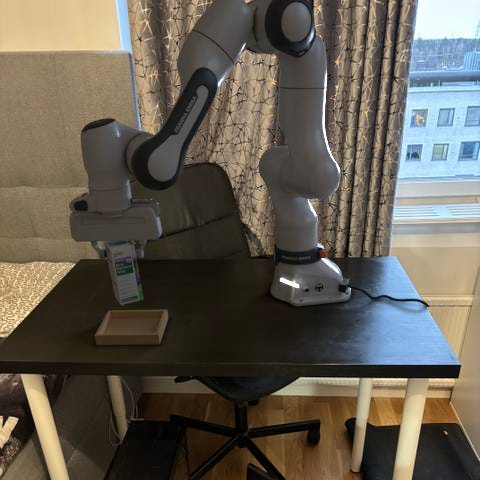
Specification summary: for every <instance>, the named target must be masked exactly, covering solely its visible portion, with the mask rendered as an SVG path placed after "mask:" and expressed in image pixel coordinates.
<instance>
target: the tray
mask: <svg viewBox="0 0 480 480" xmlns="http://www.w3.org/2000/svg"><path fill="white" fill-rule="evenodd" d="M168 312H169V311H168V309H127V310H126V309H122V310H121V309H120V310H119V309H118V310H117V309H115V310H113V309H111V310H108V311H107V312H106V314H105V316H104V318H103V320H102V321H101V323H100V324H99V327H98V328H97V329H96V332H95V334H94V340H95V345H96V346H141V345H143V346H144V345H148V346H149V345H161V342H162V339H163V336H164V333H165V331H166V327H167V323H168V321H169V313H168Z"/></svg>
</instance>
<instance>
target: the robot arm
mask: <svg viewBox="0 0 480 480" xmlns="http://www.w3.org/2000/svg"><path fill="white" fill-rule="evenodd" d="M315 22H316V21H315V15H314V12H313V9H312V6H311V4H310V2H309V1H308V0H250V1H247V2H246V1H245V0H213V1H212V2H211V3H210V5H209V6H208V7H207V8H206V9H205V10H204V11H203V13H202V14H201V15H200V16H199V18H198V20H196V22H195V24H194V25H193V27H192V29H191V30H190V32H189V33H188V35H187V36H186V37H185V40H184V41H183V43H182V45H181V48H180V50H179V52H178V56H177V58H176V61H175V62H176V70H177V74H178V77H179V83H180V88H179V93H178V96H177V98H176V100H175V102H174V104H173V106H172V107H171V109H170V111H169V113H168V115H167V117H166V118H165V120H164V122H163V124H162V126H161V128H160V129H159V130H158V131H157V132H156V133H155V134H154V133H152V132H149V131H144V130H139V129H136V128H133V127H130V126H128V125H126V124H123V123H122V122H120V121H118V120H117V119H116V118H113V117H105V118H100V119H97V120H93V121H90V122H88V123H87V124H85V125H84V126H83V128H82V130H81V132H80V149H81V157H82V162H83V167H84V170H85V172H86V174H87V178H88V182H87V189H88V191H85V192H83V193H80V194H78V195H77V196H75V197H74V198H73V199H72V200H71V201H70V202H69V203H68V207H69V210H70V211H71V213H70V215H69V218H68V219H69V230H70V235H71V238H72V239H73V240H74V241H75V242H76V243H79V242H80V243H85V242H86V243H87V242H88V243H89V242H90V246H91V247H92V249H94V251H95V252H96V253H97V257H98V259H99V260H106V259H107V254H106V249H105V248H104V249H103V248H102V247H101V245H100V242H110V241H132V242H133V241H138V245H140V248H135V252H136V258H137V259H143V258H144V257H145V253H144V249H145V246H146V245H147V242H148V241H157V240H159V238H160V237H161V236H162V234H163V227H162V222H161V218H160V215H161V208H160V204H159V203H158V201H157V200H155V199H153V198H152V197H145V198H141V197H133V196H132V190H131V183H130V182H131V181H130V180H131V179H136V180H137V181H138V183H139V184H140V185H141V186H142V187H144V188H146V189H148V190H151V191H155V192H157V191H164V190H167V189H170V188H172V187H174V185H175V184H176V183H177V182H178V181H179V179H180V177H181V176H182V173H183V169H184V165H185V158H186V155H187V152H188V149H189V148H190V145H191V143H192V141H193V139H194V138H195V136H196V134H197V132H198V130H199V129H200V127H201V125H202V124H203V121H204V119H205V117H206V116H207V114H208V111H209V110H210V108H211V106H212V104H213V102H214V100H215V98H216V96H217V94H218V92H219V90H220V89H221V87H222V86H223V84H224V83H225V81H226V79H227V78H228V76H229V75H230V73H231V71H232V70H233V69H234V67H235V66H236V64H237V62H238V60H240V57H241V55H242V54H243V53H244V52H245V51H246V50H247V52H251V53H253V54H261V55H262V54H263V55H271V56H272V55H274V56H275V57H276V60H277V63H278V67H279V68H278V69H279V76H278V78H279V79H278V95H277V97H278V98H277V99H278V100H277V124H278V125H279V128H280V129H281V131H282V132H283V135H284V137H285V141H286V144H287V145H277V146H271V147H269V148H267V149H265V151H264V152H263V153H262V154H261V156H260V158H259V161H258V167H257V169H258V174H259V176H260V178H261V179H262V181H263V182H264V184H265V185H266V188H267V191H268V194H269V197H270V200H271V205H272V210H273V212H274V221H275V243H274V248H273V262H274V272H273V273H274V274H273V279H272V284H271V287H270V294H271V295H272V297H274V298H276V299H278V300H280V301H283V302H286V303H289V304H290V305H292V306H293V307H306V306H313V305H323V304H330V303H331V304H332V303H333V304H334V303H342V302H347V301H348V300H349V299H350V298H351V296H352V292H351V291H352V290H356V291H358V292H361V293H363V294H364V295H366V296H367V297H368V298H369V299H371V300H374V301H375V300H379V299H383V298H384V299H388V300H390V301H393V302H398V303H399V302H400V303H407V302H408V303H409V302H415V303H416V302H417V303H419V304H422V305H424V306H425V307H426V308H430V307H431V306H430V305H429V304H428V303H427V302H426V301H425V300H423V299H419V298H396V297H392V296H390V295H387V294H380V295H377V296H372V294H370V293H369V292H368V291H366V290H365V289H363V288H361V287H358V286H355V285H352V284H350V283H351V279H350V278H346V277H343V273H342V270H341V269H340V267H339V265H338V264H336V263H335V262H334V261H332V260H330V259H329V258H328V252H327V249H325V246H324V245H323V244H322V242H318V226H319V225H318V224H319V223H318V221H319V218H318V215H317V212H316V210H315V209H314V208H313V206H312V204H311V202H310V200H313V201H315V200H317V201H321V200H322V201H323V200H327V199H329V198H331V197H332V196H333V195H334V194H335V193H336V191H337V190H338V188H339V186H340V183H341V177H342V176H341V169H340V166H339V164H338V162H337V161H336V160H335V159H334V156H333V154H332V153H331V150H330V147H329V143H328V139H327V134H326V127H325V126H326V125H325V115H326V114H325V113H326V112H325V111H326V96H327V82H328V81H327V79H328V77H327V76H328V67H327V51H326V44H325V42H324V39H323V38H322V37H320V36H319V35H317V28H316V26H315V25H316V23H315ZM351 289H352V290H351Z"/></svg>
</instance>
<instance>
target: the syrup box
mask: <svg viewBox="0 0 480 480" xmlns="http://www.w3.org/2000/svg"><path fill="white" fill-rule="evenodd" d="M103 245H104V249H106V254H107V257H106V259H107V264H108V269H109V275H110V279H111V283H112V289H113V294H114V297H115V299H116V300H117V303H119V305H120V306H124V305H127V304H131V303H135V302H140V301H143V300H144V295H143V294H144V293H143V288H142V282H141V276H140V270H139V264H138V258H136V252H135V251H136V247H135V244H134V242H133V240H132V241H104V243H103Z"/></svg>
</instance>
